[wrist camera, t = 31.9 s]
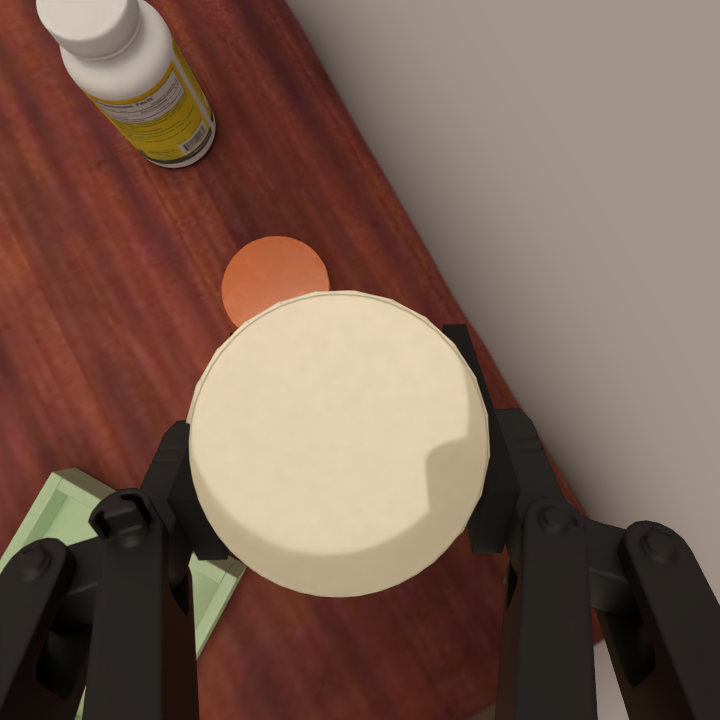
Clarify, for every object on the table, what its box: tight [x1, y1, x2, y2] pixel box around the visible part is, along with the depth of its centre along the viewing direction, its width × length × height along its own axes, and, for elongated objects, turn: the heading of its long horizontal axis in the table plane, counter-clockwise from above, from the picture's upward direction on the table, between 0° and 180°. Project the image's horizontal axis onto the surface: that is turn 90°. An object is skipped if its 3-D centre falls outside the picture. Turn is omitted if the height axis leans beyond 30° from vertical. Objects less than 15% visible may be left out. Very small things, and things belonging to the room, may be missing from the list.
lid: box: [222, 236, 333, 328], centre depth 31 cm, size 7×7×2 cm
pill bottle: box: [36, 0, 216, 168], centre depth 28 cm, size 6×6×11 cm
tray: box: [0, 467, 247, 720], centre depth 28 cm, size 14×14×2 cm
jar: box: [186, 290, 490, 597], centre depth 14 cm, size 6×6×11 cm
